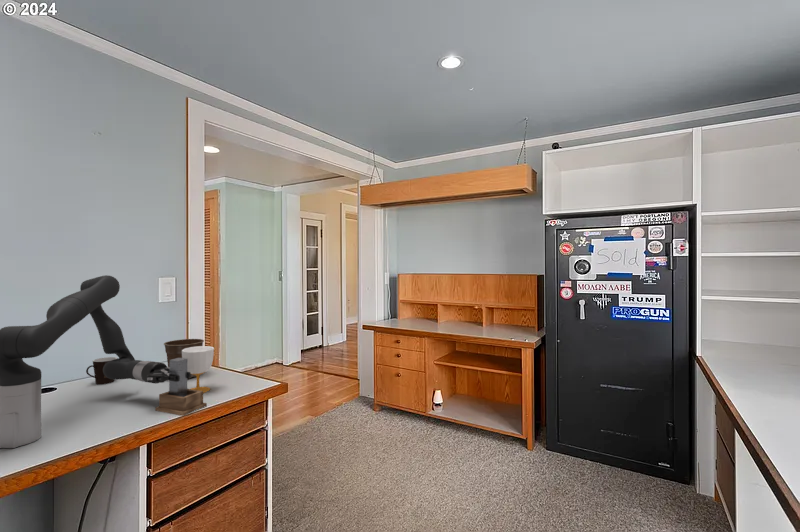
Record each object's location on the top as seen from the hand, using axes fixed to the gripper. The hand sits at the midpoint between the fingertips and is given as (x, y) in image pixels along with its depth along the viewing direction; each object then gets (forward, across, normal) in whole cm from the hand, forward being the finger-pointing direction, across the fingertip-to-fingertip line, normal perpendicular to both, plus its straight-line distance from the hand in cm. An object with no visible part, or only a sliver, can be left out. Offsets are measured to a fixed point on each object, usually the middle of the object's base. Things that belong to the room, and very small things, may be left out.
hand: (184, 376), depth 140 cm
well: (-1, 0, +11) cm, 11 cm away
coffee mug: (-59, +9, +12) cm, 61 cm away
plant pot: (-35, +30, +12) cm, 47 cm away
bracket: (-1, 0, +9) cm, 9 cm away
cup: (-12, +17, +12) cm, 24 cm away
